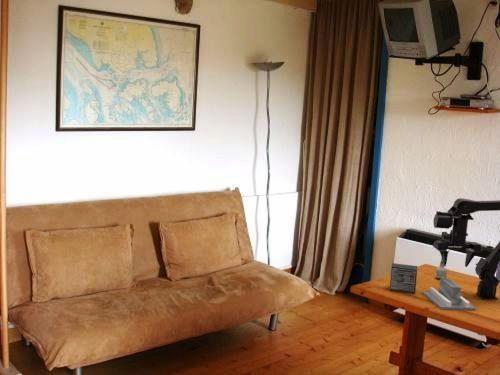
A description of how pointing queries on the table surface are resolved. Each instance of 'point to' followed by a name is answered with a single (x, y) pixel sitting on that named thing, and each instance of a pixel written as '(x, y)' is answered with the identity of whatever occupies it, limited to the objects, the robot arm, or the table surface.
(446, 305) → the sliding track
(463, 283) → the table surface
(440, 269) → the reed diffuser
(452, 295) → the long grey rectangular beam
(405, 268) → the small box
